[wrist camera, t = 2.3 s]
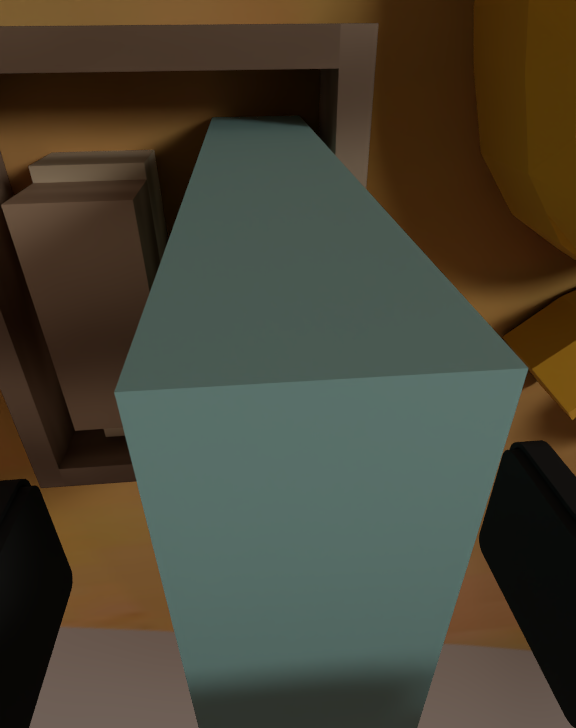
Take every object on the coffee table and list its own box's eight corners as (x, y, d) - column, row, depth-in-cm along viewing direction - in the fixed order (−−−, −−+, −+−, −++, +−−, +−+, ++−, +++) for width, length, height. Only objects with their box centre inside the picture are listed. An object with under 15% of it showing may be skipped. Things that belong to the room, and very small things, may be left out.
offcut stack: (53, 151, 17) (-6, 185, 13) (155, 148, 17) (129, 180, 13) (117, 401, 23) (91, 479, 19) (192, 396, 23) (182, 473, 19)
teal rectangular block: (212, 117, 17) (113, 392, 3) (298, 115, 17) (527, 368, 4) (234, 380, 23) (230, 853, 9) (298, 376, 23) (384, 835, 10)
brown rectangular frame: (-72, 31, 15) (-147, 27, 12) (352, 27, 16) (378, 23, 13) (65, 433, 24) (40, 487, 21) (332, 416, 24) (345, 466, 21)
